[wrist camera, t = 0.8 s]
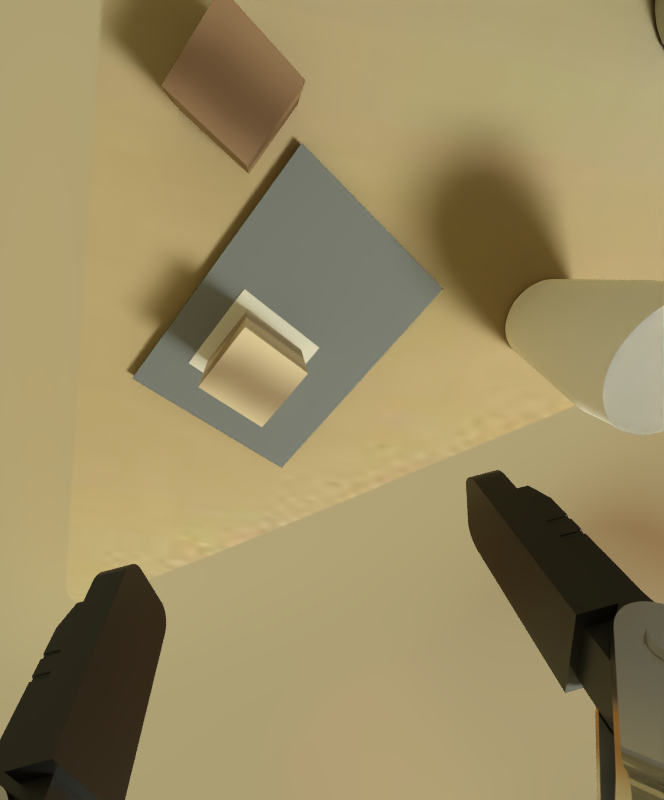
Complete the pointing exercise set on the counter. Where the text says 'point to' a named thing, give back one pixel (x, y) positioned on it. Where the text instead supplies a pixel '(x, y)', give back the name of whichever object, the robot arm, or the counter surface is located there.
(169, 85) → the walnut block
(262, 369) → the maple block
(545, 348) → the cup
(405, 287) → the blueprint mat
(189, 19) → the counter surface
